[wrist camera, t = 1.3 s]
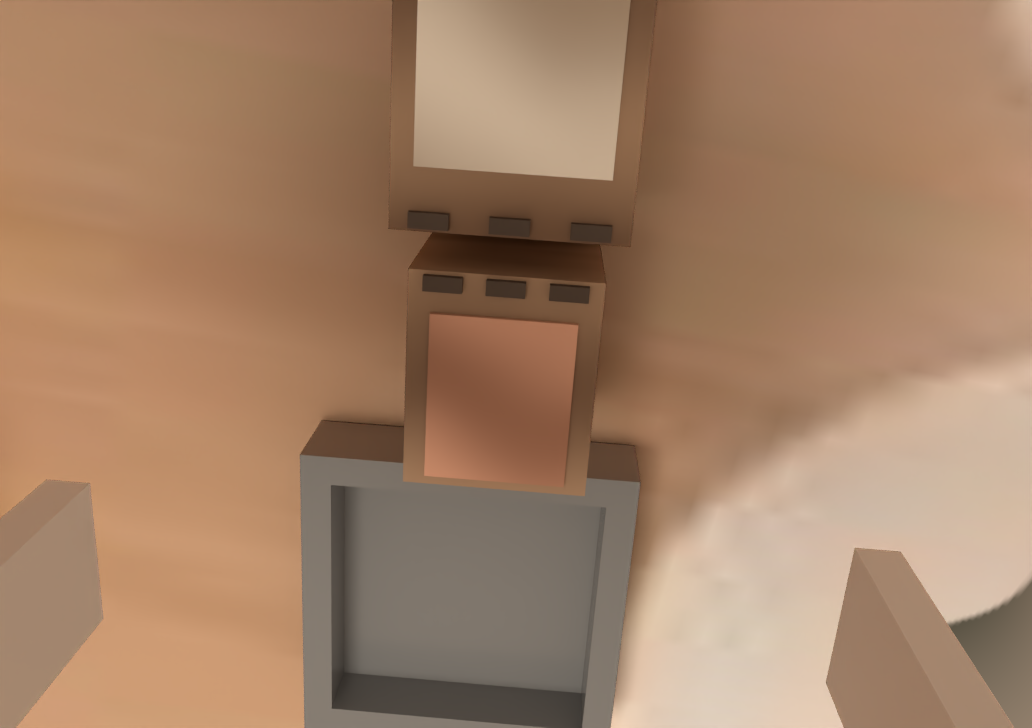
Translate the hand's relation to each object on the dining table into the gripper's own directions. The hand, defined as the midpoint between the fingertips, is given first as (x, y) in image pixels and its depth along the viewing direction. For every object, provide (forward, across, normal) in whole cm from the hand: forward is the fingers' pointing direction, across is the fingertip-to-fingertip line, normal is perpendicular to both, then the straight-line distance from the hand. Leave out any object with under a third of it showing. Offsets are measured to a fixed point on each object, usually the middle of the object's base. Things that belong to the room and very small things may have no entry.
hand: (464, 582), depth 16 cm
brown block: (+16, 0, 0) cm, 16 cm away
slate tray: (+16, -1, -10) cm, 19 cm away
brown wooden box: (+16, 0, +10) cm, 19 cm away
